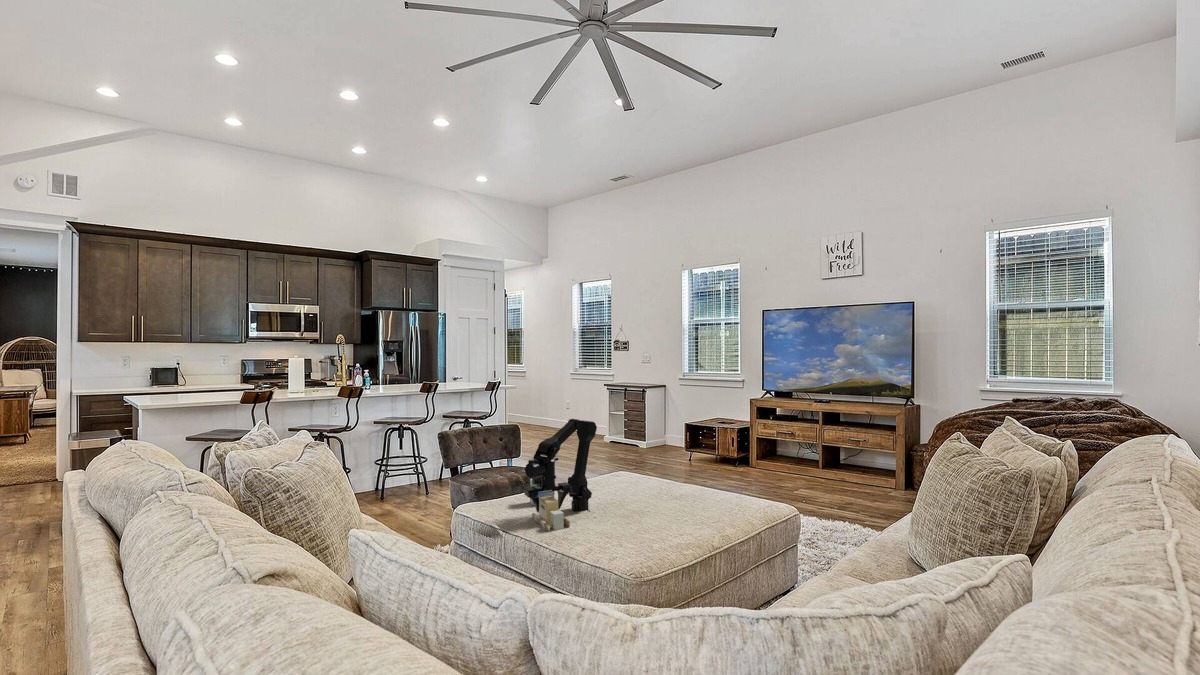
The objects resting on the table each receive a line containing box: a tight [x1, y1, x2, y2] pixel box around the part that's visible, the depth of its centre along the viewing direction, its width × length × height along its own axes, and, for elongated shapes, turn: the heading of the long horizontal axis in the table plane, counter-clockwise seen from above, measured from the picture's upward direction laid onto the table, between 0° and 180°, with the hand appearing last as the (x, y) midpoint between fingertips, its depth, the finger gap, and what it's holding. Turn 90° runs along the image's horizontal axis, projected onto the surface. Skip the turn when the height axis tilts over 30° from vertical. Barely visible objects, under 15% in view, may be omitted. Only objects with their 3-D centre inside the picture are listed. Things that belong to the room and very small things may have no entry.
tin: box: [550, 509, 565, 531], centre depth 235 cm, size 4×4×6 cm
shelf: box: [531, 512, 571, 532], centre depth 241 cm, size 18×9×4 cm, turn 26°
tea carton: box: [538, 496, 559, 525], centre depth 243 cm, size 8×5×9 cm, turn 27°
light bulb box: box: [529, 478, 556, 507], centre depth 271 cm, size 11×7×11 cm, turn 105°
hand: (548, 510), depth 243 cm, fingers open, 9 cm apart
